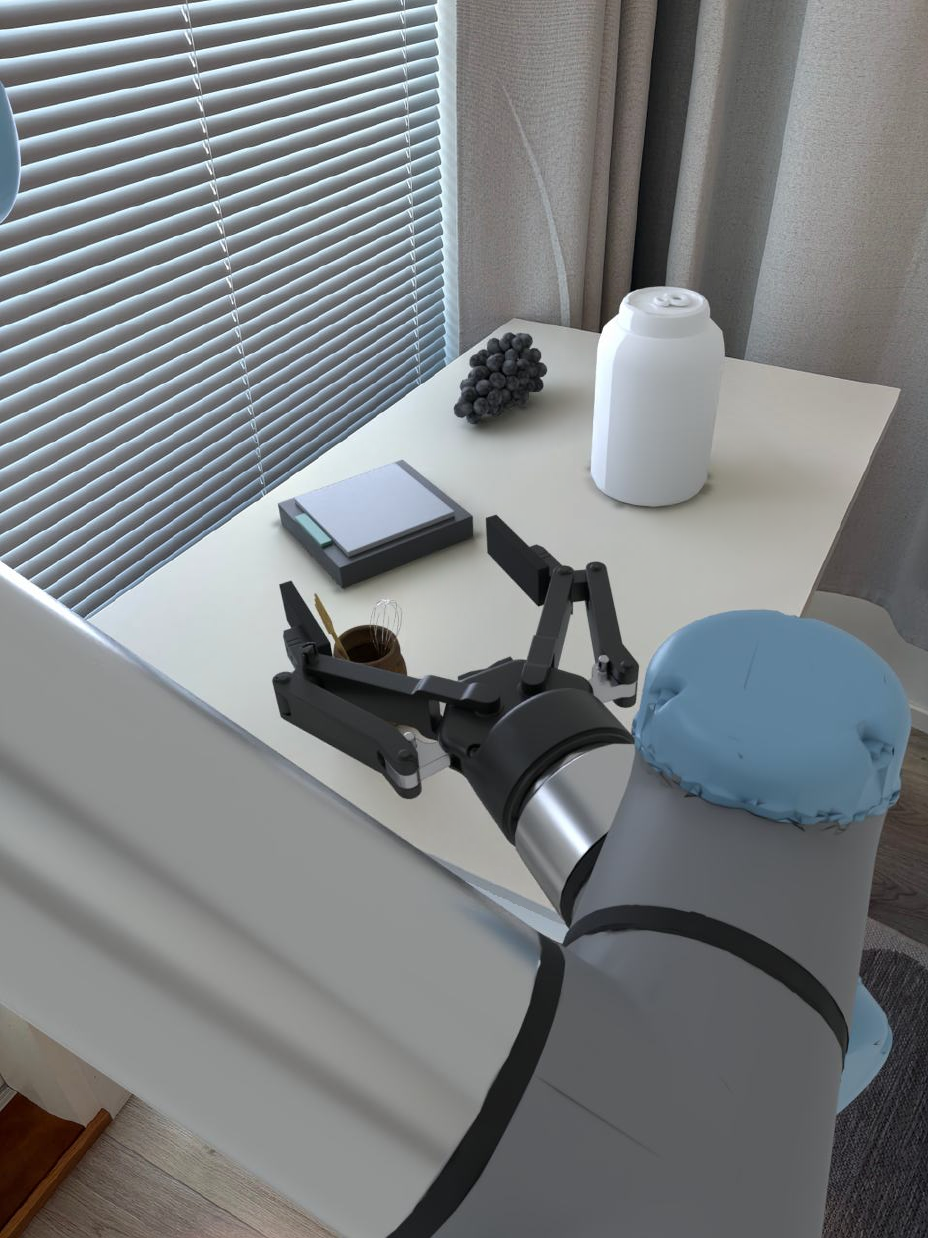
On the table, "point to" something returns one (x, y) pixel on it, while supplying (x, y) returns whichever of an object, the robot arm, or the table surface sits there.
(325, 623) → the utensil holder
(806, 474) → the table surface
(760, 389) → the table surface
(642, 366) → the can
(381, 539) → the scale
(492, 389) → the fruit
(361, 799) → the table surface
